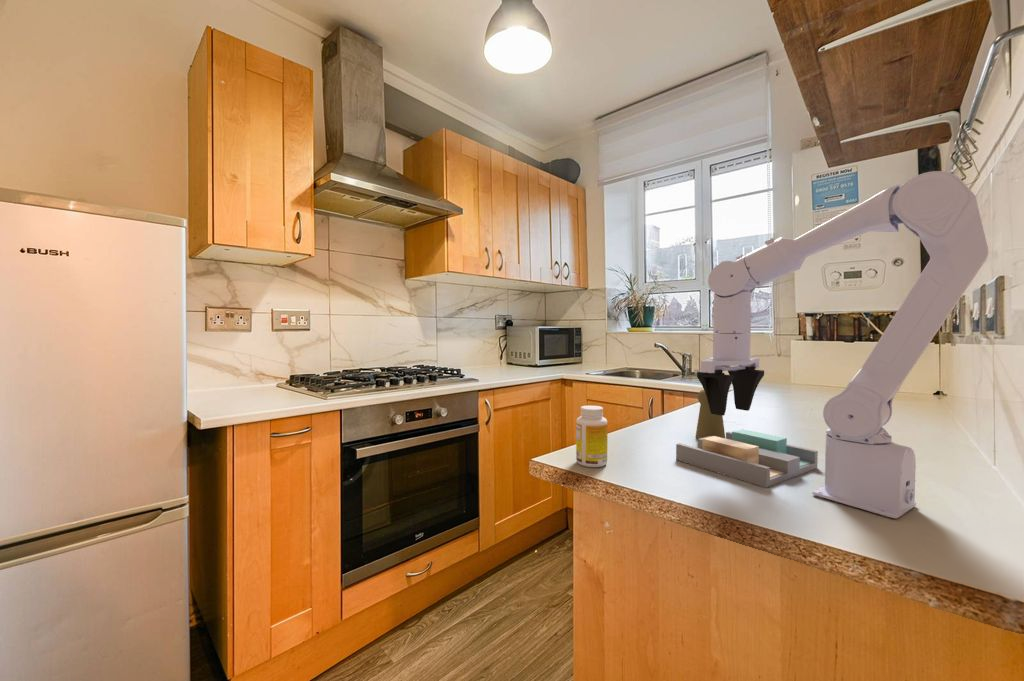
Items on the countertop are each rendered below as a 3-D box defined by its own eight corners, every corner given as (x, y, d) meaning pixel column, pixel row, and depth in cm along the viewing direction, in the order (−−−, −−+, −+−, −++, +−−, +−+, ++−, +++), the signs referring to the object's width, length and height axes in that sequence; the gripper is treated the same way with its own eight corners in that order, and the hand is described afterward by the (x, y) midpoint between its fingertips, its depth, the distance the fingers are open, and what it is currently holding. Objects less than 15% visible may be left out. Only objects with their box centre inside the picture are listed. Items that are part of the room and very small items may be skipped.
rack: (817, 467, 73) (817, 450, 73) (766, 487, 64) (766, 468, 64) (728, 446, 87) (728, 431, 87) (676, 459, 78) (676, 443, 78)
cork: (719, 436, 94) (719, 387, 94) (730, 443, 88) (731, 392, 88) (691, 435, 95) (692, 387, 95) (700, 443, 89) (701, 391, 89)
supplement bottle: (613, 463, 76) (613, 407, 75) (595, 470, 72) (595, 411, 72) (588, 456, 80) (588, 403, 79) (569, 463, 76) (569, 407, 76)
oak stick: (758, 467, 70) (758, 446, 70) (746, 470, 68) (747, 449, 68) (713, 454, 77) (714, 435, 77) (702, 457, 75) (702, 438, 75)
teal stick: (786, 457, 75) (786, 438, 75) (776, 460, 74) (776, 441, 74) (741, 446, 82) (742, 429, 82) (731, 449, 80) (732, 431, 80)
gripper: (732, 333, 79) (731, 404, 80) (684, 333, 72) (683, 412, 72) (772, 333, 73) (770, 410, 74) (724, 334, 66) (723, 420, 66)
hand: (730, 412), depth 73 cm, fingers open, 7 cm apart
